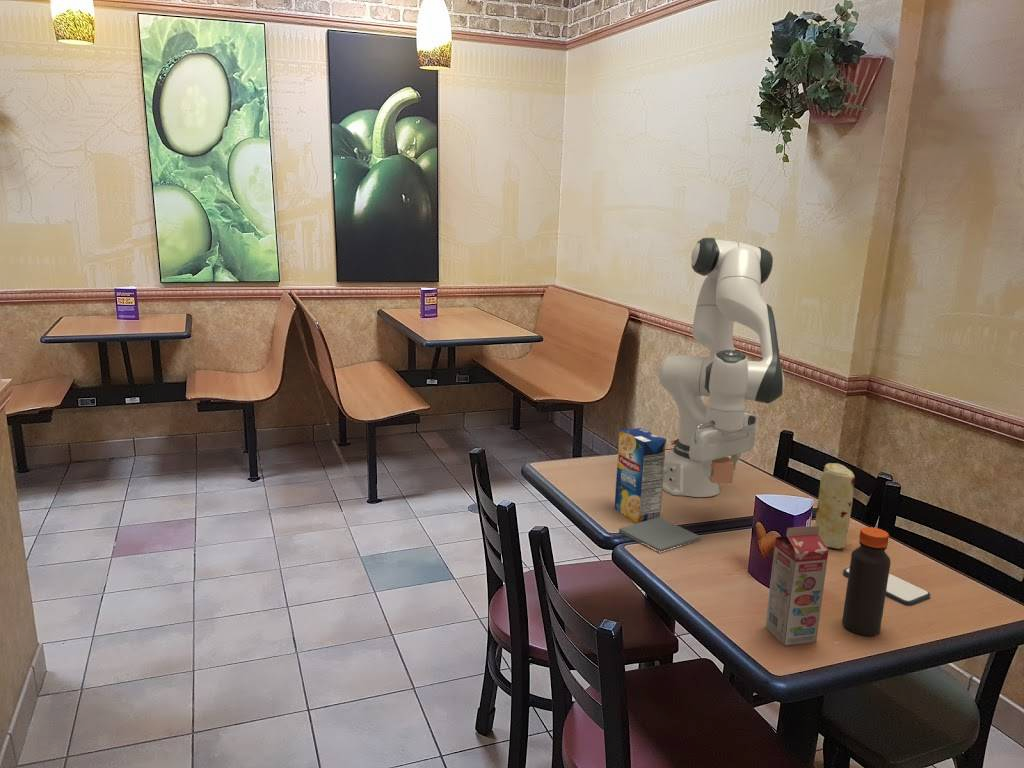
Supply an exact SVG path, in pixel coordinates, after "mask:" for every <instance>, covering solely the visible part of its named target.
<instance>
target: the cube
mask: <svg viewBox="0 0 1024 768" xmlns="http://www.w3.org/2000/svg"><path fill="white" fill-rule="evenodd" d="M730 458H731V457H730V456H727V457H723V458H719V459H715V460H712V464H710V466H711V469H713V470H714V472H713V476H711V477H708V479H709V480H710V481H711V483H718V484H733V481H734V479H733V478H734V471H735V470H734V463H733V462H732V461H731V459H730Z"/></svg>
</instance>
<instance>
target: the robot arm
mask: <svg viewBox="0 0 1024 768" xmlns="http://www.w3.org/2000/svg"><path fill="white" fill-rule="evenodd" d="M690 259H691V261H690V262H691V268H692V270H693V271H694V273H695V274H698V275H701V276H704V277H705V279H704V280H703V282H702V284H701V287H700V291H699V294H698V297H697V300H696V301H697V302H696V305H695V310H694V316H693V323H692V327H691V328H692V329H691V335H692V337H693V339H694V340H695V341H697V343H699V345H702V346H703V347H704V348H707V349H708V351H709V355H708V356H698V355H697V356H696V355H691V354H690V355H688V354H675V355H668V356H666V357H665V358H664V359H663V360H661V361H662V362H661V363H660V365H659V368H658V372H657V374H658V375H657V376H658V380H659V383H660V385H661V386H662V387H663V389H664V390H666V391H667V392H668V394H669V395H670V396H671V397H672V399H673V401H674V403H675V406H676V407H677V410H678V414H679V428H678V429H679V433H678V438H677V439H675V440H671V441H670V442H671V443H670V445H671V446H672V445H674V447H673V449H672V450H671V451H669V452H667V453H665V459H664V472H663V485H662V490H663V489H664V490H663V491H665V492H666V493H668V492H669V493H668V494H670V495H672V496H686V497H687V496H688V497H693V498H709V497H712V496H713V497H714V496H716V495H718V494H719V493H720V486H719V483H711V481H710V480H709V479H708V477H711V476H713V472H714V470H713V469H711V466H710V464H712V460H715V459H719V458H723V457H729V458H730V459H731V461H732V462H733V463H734V471H736V470H737V464H738V462H739V460H740V458H741V455H742V453H746V452H751V451H752V450H753V448H754V447H755V444H756V443H755V442H756V437H757V436H756V435H757V434H756V433H757V428H756V425H757V423H758V420H759V419H758V418H759V417H758V415H755V414H753V413H750V412H746V403H745V401H747V400H748V401H754V402H759V403H763V404H771V403H772V402H774V401H776V400H778V399H779V398H780V397H781V396H782V395H783V392H784V390H785V376H784V372H783V371H784V370H783V368H782V363H781V357H780V350H779V349H780V348H779V344H778V343H779V342H778V334H777V333H778V332H777V326H776V320H775V315H774V311H773V309H772V306H771V305H769V304H768V303H766V302H765V301H764V299H763V297H762V294H761V287H762V286H761V285H762V284H763V283H765V282H766V281H767V280H768V278H769V277H770V275H771V273H772V270H773V267H774V266H773V264H774V263H773V262H774V258H773V254H772V253H771V251H769V250H768V249H766V248H763V247H760V246H755V245H752V244H748V243H745V242H741V241H733V240H728V239H718V238H716V239H715V237H702V238H701V239H700V240H698V241H697V242H696V244H695V246H694V248H693V250H692V251H691V255H690ZM734 323H738V324H741V325H743V326H745V327H747V328H749V329H751V330H753V331H754V332H755V333H756V334H757V335H758V337H759V341H760V352H761V359H762V360H759V361H753V360H748V356H747V355H746V354H745V353H743V352H741V351H738V350H736V348H735V347H734V339H733V335H734ZM702 397H709V398H708V401H707V402H706V403H707V405H706V404H705V403H704V401H703V400H702Z"/></svg>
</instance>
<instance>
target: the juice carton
mask: <svg viewBox="0 0 1024 768" xmlns="http://www.w3.org/2000/svg"><path fill="white" fill-rule="evenodd" d="M819 527H820V526H815V525H811V526H796V527H787V528H786V535H784V536H783V535H782V536H776V537H775V540H774V548H773V557H772V558H773V560H772V565H771V575H770V584H769V592H768V599H767V600H768V602H767V609H766V617H765V626H764V627H765V628H766V629H767V630H768V631H769V632H770V633H771V634H772V635H773V636H775V638H776V639H778V641H779V642H781V643H782V645H784V646H792V645H801V644H809V643H811V644H812V643H816V642H817V640H818V639H817V638H818V633H819V625H820V617H821V611H822V603H823V595H824V587H825V579H826V573H827V572H826V571H827V565H828V557H829V552H830V551H829V550H830V549H828V548H829V547H827V546H826V545H825V544H824V542H823V541H822V539H821V538H820V536H819V535H818V534H819Z"/></svg>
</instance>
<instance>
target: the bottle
mask: <svg viewBox="0 0 1024 768" xmlns="http://www.w3.org/2000/svg"><path fill="white" fill-rule="evenodd" d="M889 537H890V534H889V532H887V531H886V530H883V529H882V528H878V527H871V526H864V527H862V528H860V531H859V539H858V540H859V541H858V543H859V546H858V547H857V548H855V549H854V550H852V552H851V556H850V557H851V558H850V564H849V567H850V569H849V576H848V578H847V585H846V592H845V599H844V605H843V613H842V618H841V619H842V622H841V623H842V625H843V627H844V628H846V629H847V630H848V631H850V632H852V633H854V634H856V635H861V636H866V637H867V636H870V637H871V636H875V635H878V634H879V633H880V631H881V627H882V621H883V614H884V607H885V601H886V589H887V583H888V576H889V573H890V570H891V562H892V561H891V557H890V556H889V555H888V554H887V552H886V550H887V549H888V546H889V545H888V544H889Z"/></svg>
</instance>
